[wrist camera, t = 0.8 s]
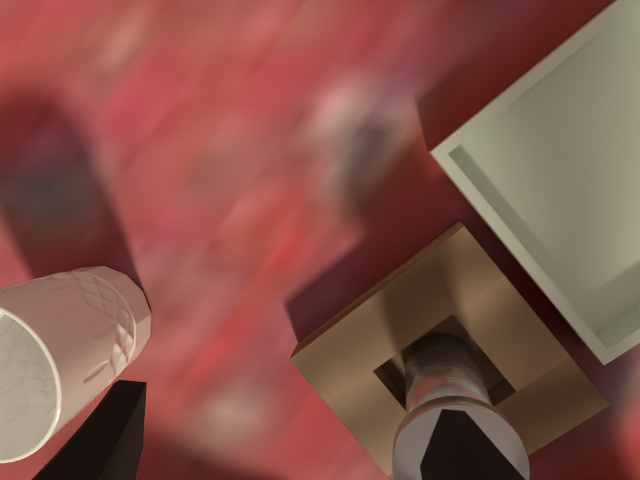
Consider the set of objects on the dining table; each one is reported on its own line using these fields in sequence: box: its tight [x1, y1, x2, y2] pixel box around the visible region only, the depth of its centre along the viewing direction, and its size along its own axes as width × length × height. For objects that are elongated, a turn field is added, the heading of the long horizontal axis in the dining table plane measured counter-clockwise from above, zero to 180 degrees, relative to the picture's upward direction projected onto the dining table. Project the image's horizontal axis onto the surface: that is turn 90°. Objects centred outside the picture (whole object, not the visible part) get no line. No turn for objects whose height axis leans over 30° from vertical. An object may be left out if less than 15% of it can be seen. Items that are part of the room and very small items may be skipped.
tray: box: [428, 0, 640, 365], centre depth 26 cm, size 14×14×3 cm
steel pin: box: [392, 333, 530, 480], centre depth 25 cm, size 5×5×10 cm
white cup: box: [0, 266, 151, 463], centre depth 28 cm, size 8×8×10 cm
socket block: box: [290, 220, 610, 480], centre depth 29 cm, size 12×12×2 cm
